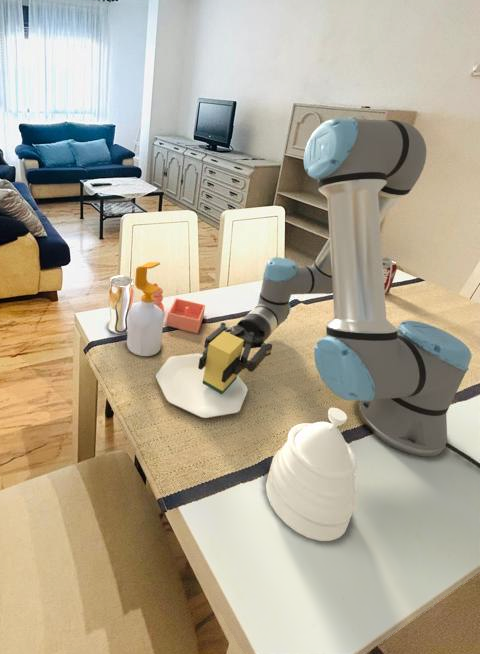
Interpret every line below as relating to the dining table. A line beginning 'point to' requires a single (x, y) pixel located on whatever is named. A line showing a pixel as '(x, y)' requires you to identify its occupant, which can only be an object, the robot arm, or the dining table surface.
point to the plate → (197, 388)
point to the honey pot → (314, 479)
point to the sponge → (221, 360)
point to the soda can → (388, 273)
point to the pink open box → (181, 313)
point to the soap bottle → (145, 317)
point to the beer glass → (120, 303)
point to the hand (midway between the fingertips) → (212, 370)
